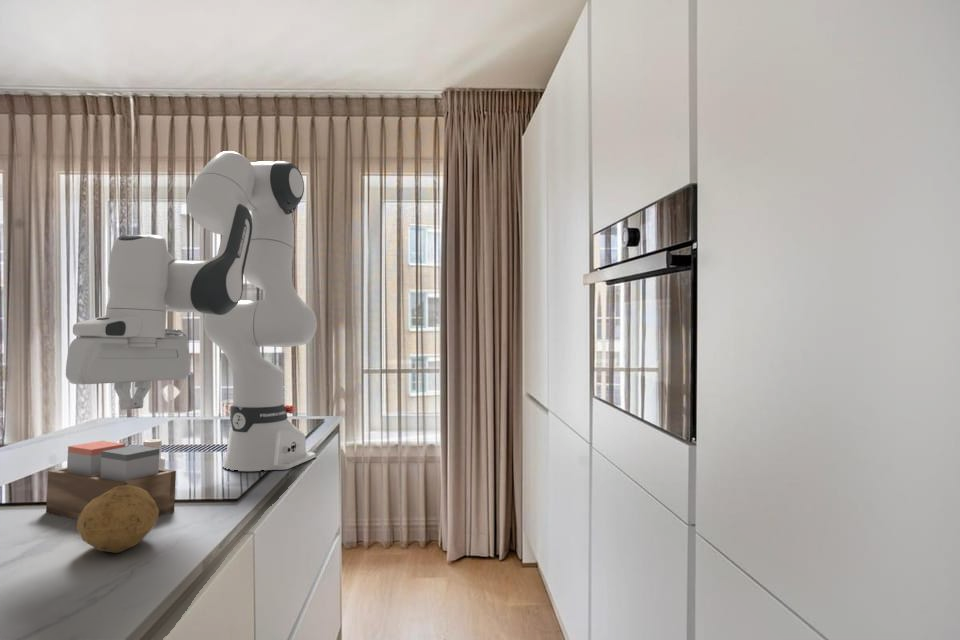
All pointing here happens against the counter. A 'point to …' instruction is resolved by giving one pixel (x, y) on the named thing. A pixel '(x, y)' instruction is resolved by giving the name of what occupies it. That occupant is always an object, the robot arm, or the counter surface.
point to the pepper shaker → (155, 444)
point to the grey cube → (129, 463)
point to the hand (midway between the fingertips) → (131, 408)
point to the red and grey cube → (88, 456)
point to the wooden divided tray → (103, 490)
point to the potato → (118, 518)
